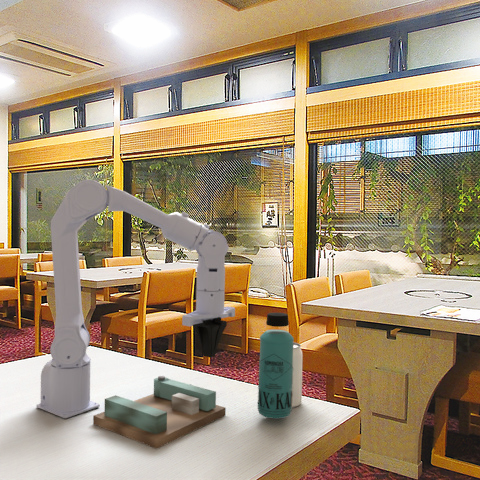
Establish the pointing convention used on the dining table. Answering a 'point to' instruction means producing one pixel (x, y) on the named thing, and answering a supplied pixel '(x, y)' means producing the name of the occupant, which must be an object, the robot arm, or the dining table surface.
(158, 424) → the wooden board
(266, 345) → the beverage bottle
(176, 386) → the folding leg
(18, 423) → the dining table surface
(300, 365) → the can
